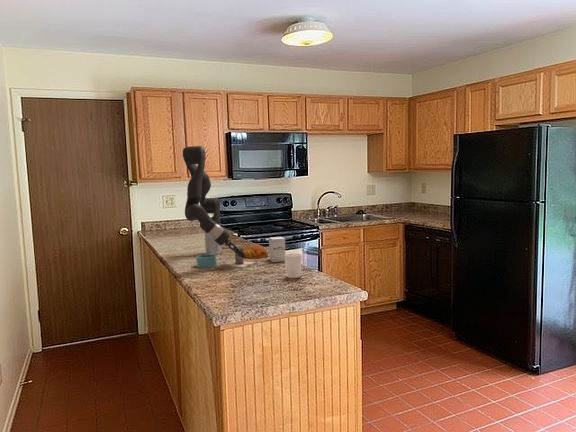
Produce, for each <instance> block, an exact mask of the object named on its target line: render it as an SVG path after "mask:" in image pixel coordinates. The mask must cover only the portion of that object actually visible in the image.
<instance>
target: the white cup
mask: <svg viewBox="0 0 576 432" xmlns="http://www.w3.org/2000/svg"><path fill="white" fill-rule="evenodd" d="M284 256H285V261H284V266H285V276H286V278H290V279H297V278H300V277H301V276H302V265H303V263H302V257H303V256H302V253H300V252H299V253H298V252H293V253H291V252H290V253H285V255H284Z"/></svg>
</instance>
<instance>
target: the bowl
mask: <svg viewBox="0 0 576 432" xmlns="http://www.w3.org/2000/svg"><path fill="white" fill-rule="evenodd" d="M195 257H196V258H195V260H196V262H195V263H196V267H197V268H202V269H205V268H206V269H208V268H215V267H216V266H217V265H218V262H217V261H218V260H217V259H218V257H217V254H206V253H203V254H199V255H197V256H195Z"/></svg>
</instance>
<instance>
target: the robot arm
mask: <svg viewBox="0 0 576 432" xmlns="http://www.w3.org/2000/svg"><path fill="white" fill-rule="evenodd" d="M206 155H207V154H206V150H205V147H204V146H202V145H196V146H193V145H192V146H186V147H185V146H184V148H183V149H182V157H183V161H184V163H185V165H186V168H187V169H188V172H189V174H190V177H191V178H190V179H189V181H188V183H187V190H186V191H187V193H186V194H187V195H186V196H187V198H186V201H185V208H184V215H185V218H186V219H187V220H188V221H189V222H194V221H198V223H199V227H200V229H201V230H202V231H203V232H204V242H205V243H204V244H205V245H204V247H205V254H215V255H218V254H219V255H220V254H222V253H223V245H224V244H225V247H226V248H227V249H229V250H230V251H232V252H234V254H235V253H236V254H238V255H239V256H240V257H241V258H243V257H244V256H245V254H244V253H242V252H241V251H240V249H238V245H236V244H235V243H234V241H233V240H231V239H229V238H230V236H231V235H230V233H229V232H228V231H227V230H226V229H224V227H222V226H221V218H220V217H221V215H220V214H221V212H220V211H221V203H220V200H219V198H218V197H211V198H210V197H206V196H207V194H208V193H209V191H210V190H211V187H212V183H211V180H210V177H209V174H208V173H207V172H206V171H205V167H206V166H205V165H206V158H207V157H206ZM209 214H211V215H212V214H213V215H212V217H210V215H209ZM235 249H237V250H236V251H235ZM243 259H244V258H243Z"/></svg>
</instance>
